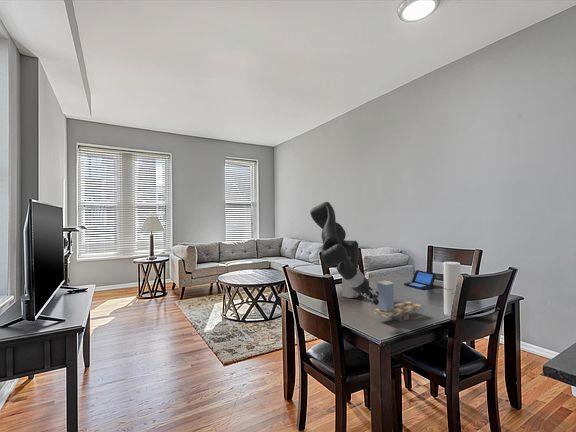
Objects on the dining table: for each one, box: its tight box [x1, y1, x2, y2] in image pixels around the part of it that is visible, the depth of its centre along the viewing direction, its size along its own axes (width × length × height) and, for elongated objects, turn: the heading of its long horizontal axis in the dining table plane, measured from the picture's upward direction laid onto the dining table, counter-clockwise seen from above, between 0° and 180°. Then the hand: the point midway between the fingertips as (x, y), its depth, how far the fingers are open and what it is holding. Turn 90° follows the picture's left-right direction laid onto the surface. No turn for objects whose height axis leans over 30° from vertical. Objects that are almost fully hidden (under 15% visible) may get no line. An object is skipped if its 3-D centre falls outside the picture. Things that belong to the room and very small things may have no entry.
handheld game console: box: [403, 270, 437, 291], centre depth 202 cm, size 16×13×9 cm
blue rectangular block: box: [376, 280, 395, 312], centre depth 140 cm, size 5×5×14 cm
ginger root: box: [372, 300, 422, 323], centre depth 144 cm, size 24×8×5 cm, turn 120°
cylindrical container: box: [442, 261, 461, 317], centre depth 148 cm, size 7×7×25 cm
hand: (377, 303), depth 137 cm, fingers closed
